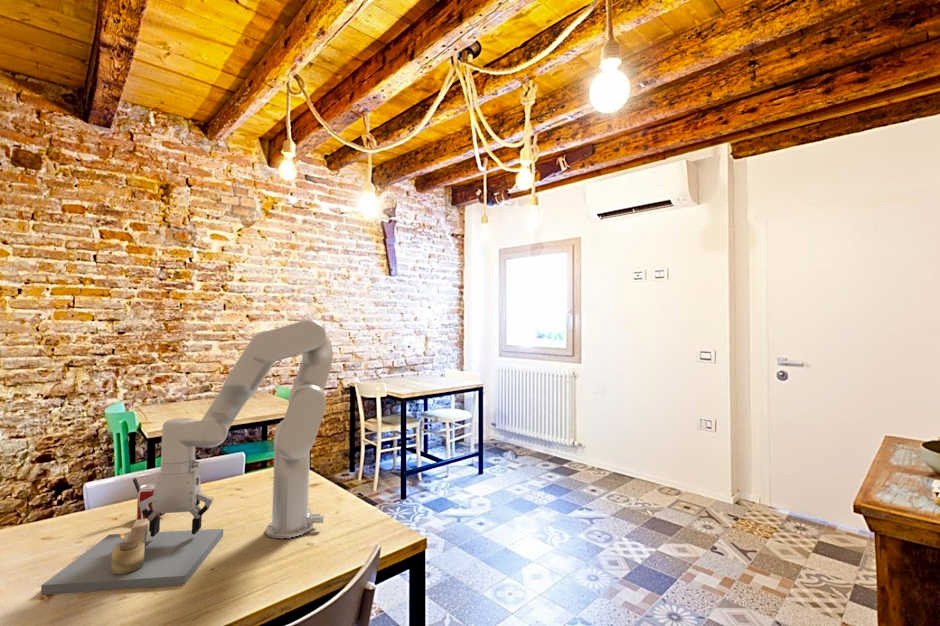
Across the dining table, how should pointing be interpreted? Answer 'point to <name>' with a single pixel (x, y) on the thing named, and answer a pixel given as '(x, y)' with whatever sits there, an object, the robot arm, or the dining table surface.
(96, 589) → the dial board
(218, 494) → the dining table surface
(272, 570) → the dining table surface
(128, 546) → the beige elongated piece
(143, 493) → the soda can
